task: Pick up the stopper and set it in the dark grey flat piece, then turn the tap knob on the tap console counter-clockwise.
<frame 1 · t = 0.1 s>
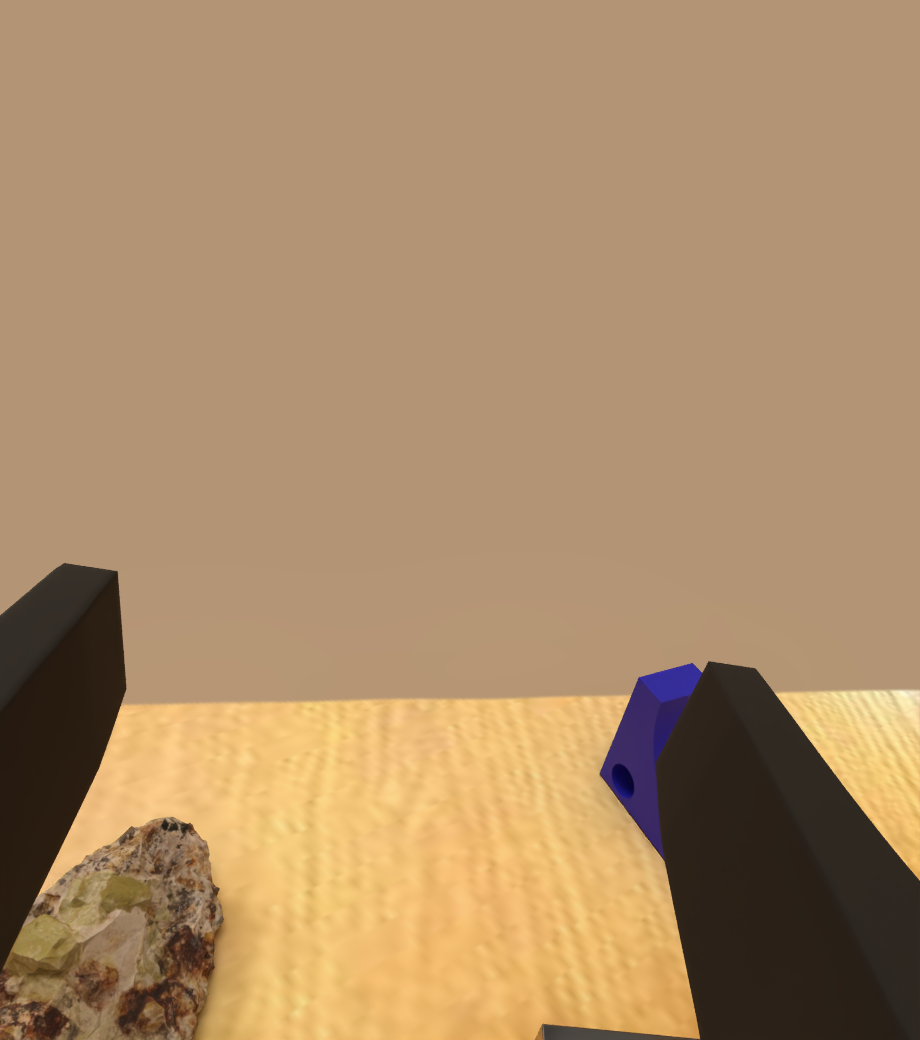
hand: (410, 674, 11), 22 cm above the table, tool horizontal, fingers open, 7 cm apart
cable clip: (723, 872, 35), on the table
mineral rock: (97, 986, 27), on the table
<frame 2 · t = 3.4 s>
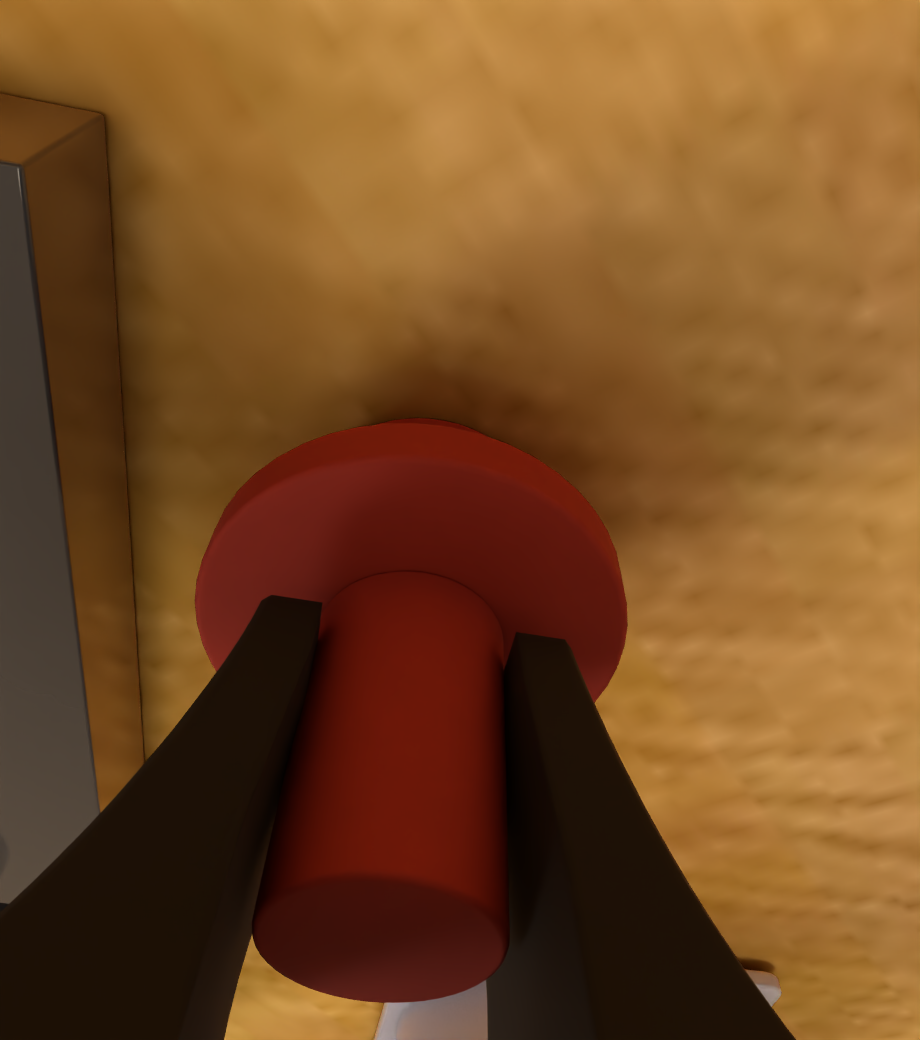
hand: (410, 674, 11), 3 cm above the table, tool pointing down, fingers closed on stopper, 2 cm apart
stopper: (422, 518, 13), on the table, touching gripper
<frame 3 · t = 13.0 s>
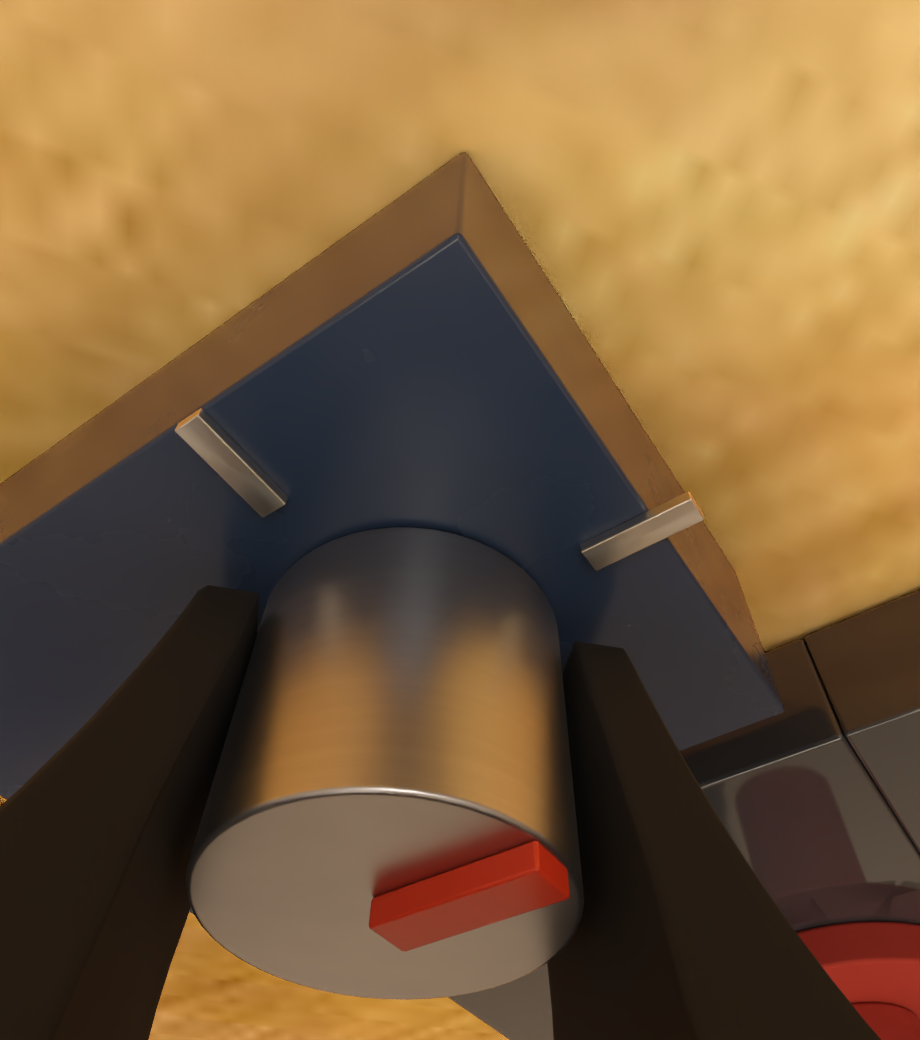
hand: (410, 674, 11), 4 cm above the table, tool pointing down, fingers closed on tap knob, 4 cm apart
tap knob: (398, 767, 9), point 5 cm above the table, hinge at 0.0°, touching gripper
stopper: (817, 905, 20), resting in dark grey flat piece
tap console: (327, 556, 14), on the table
dark grey flat piece: (793, 868, 19), on the table
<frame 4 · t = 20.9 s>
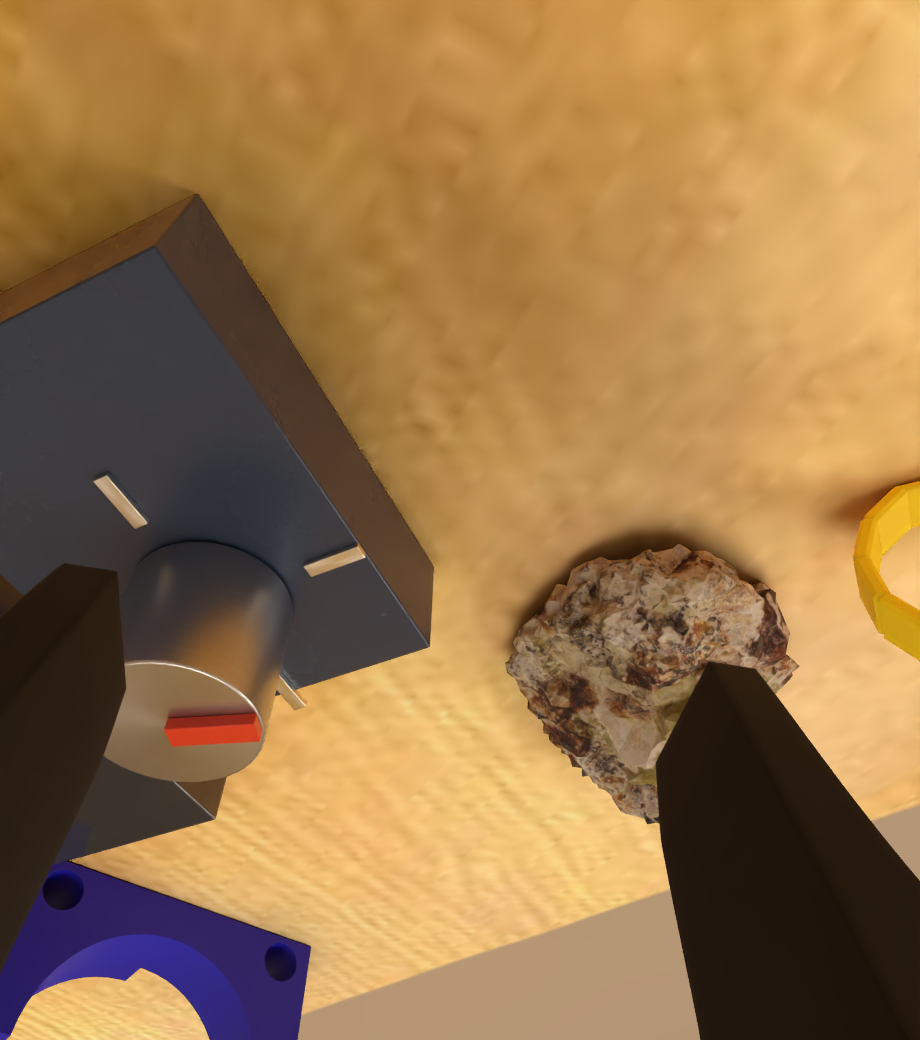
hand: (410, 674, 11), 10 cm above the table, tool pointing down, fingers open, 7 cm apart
cable clip: (160, 919, 36), on the table
tap knob: (190, 665, 18), point 5 cm above the table, hinge at 71.1°
tap console: (194, 465, 21), on the table
mineral rock: (642, 658, 26), on the table
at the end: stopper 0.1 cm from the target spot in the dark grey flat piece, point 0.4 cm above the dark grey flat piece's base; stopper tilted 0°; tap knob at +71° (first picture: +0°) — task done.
